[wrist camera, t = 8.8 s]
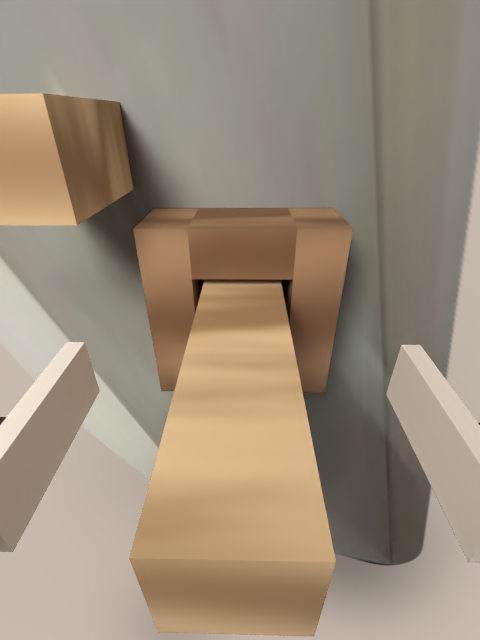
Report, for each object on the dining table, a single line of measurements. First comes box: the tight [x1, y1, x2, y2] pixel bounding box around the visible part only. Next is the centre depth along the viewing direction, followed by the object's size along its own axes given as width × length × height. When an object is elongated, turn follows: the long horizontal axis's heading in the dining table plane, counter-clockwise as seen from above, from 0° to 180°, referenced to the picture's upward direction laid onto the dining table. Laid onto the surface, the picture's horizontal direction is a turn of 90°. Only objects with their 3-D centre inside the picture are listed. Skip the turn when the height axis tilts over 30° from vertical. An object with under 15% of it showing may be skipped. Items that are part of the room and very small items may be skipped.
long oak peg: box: [129, 279, 336, 636], centre depth 14 cm, size 4×4×16 cm
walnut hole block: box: [133, 208, 353, 393], centre depth 19 cm, size 10×10×4 cm
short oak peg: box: [0, 94, 134, 225], centre depth 14 cm, size 4×4×7 cm
